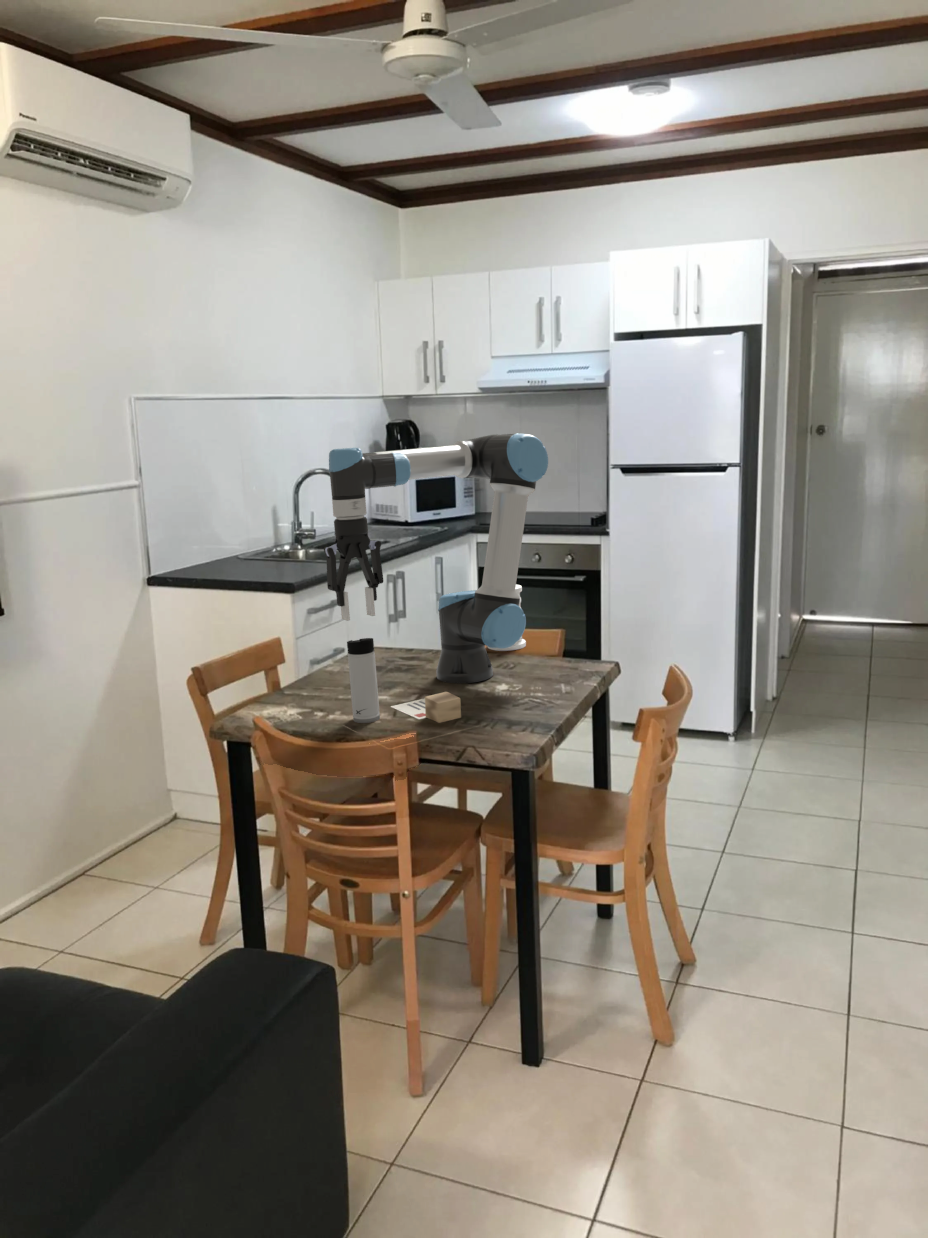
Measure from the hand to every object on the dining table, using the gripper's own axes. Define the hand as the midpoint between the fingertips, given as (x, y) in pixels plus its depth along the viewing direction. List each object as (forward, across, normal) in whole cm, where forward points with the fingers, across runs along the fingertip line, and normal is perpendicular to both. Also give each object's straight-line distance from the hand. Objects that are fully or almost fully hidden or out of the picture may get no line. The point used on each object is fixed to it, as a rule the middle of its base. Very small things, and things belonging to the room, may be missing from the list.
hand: (358, 617), depth 231 cm
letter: (+25, +14, -2) cm, 29 cm away
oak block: (+25, +14, -12) cm, 31 cm away
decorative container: (+25, +66, +36) cm, 79 cm away
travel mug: (+25, 0, 0) cm, 25 cm away
